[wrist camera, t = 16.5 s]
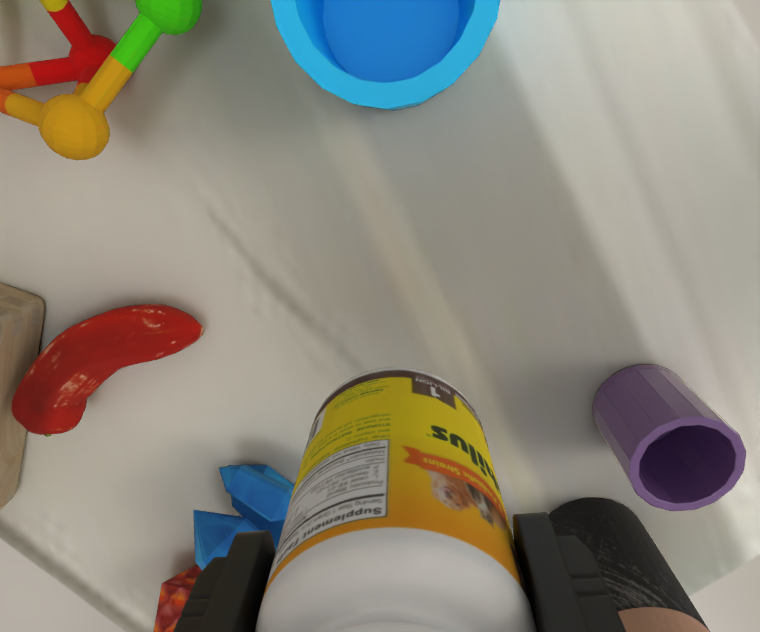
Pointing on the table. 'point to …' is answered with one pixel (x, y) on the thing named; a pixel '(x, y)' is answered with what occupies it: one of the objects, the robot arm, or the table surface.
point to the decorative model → (88, 74)
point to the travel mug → (629, 566)
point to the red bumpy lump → (174, 599)
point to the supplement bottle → (396, 519)
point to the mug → (385, 45)
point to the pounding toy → (15, 376)
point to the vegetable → (96, 361)
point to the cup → (667, 438)
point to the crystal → (243, 510)
